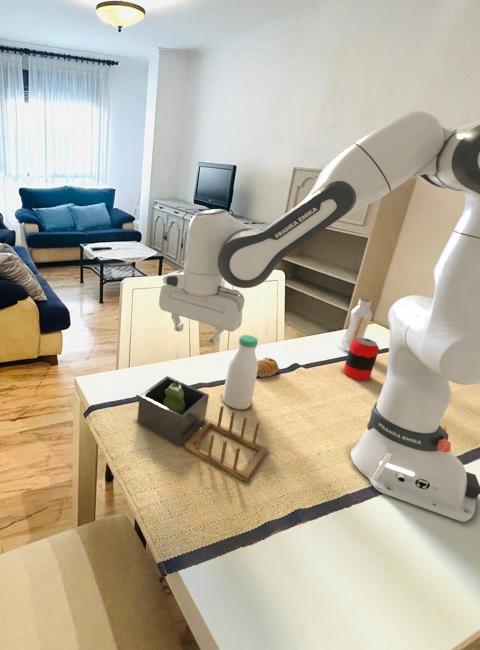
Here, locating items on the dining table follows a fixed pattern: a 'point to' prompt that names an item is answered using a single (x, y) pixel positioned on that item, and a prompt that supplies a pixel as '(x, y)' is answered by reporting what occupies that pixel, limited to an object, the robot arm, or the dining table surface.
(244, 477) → the drying rack
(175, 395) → the pear
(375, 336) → the dining table surface
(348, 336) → the plastic bottle
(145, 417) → the dark grey open box
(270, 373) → the pastry
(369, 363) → the soda can
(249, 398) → the milk bottle
